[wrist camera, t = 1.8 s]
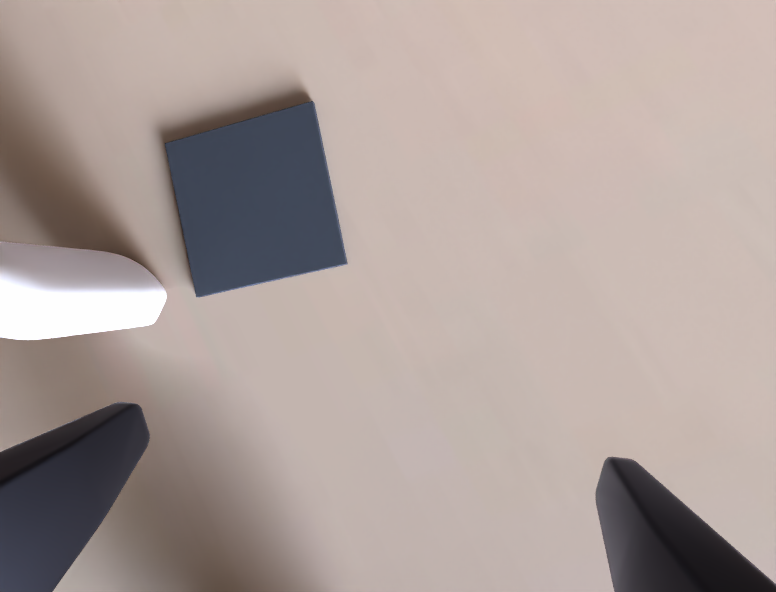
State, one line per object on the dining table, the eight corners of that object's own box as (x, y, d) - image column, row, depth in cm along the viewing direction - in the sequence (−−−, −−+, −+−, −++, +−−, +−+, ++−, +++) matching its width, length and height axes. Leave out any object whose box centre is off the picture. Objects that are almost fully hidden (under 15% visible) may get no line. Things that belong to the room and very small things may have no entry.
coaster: (347, 264, 22) (346, 263, 22) (199, 297, 24) (196, 297, 23) (314, 103, 22) (312, 100, 22) (167, 145, 24) (164, 143, 23)
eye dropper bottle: (123, 347, 24) (-186, 406, 12) (77, 268, 25) (-267, 251, 13) (179, 308, 24) (-88, 331, 12) (131, 227, 24) (-177, 171, 12)
